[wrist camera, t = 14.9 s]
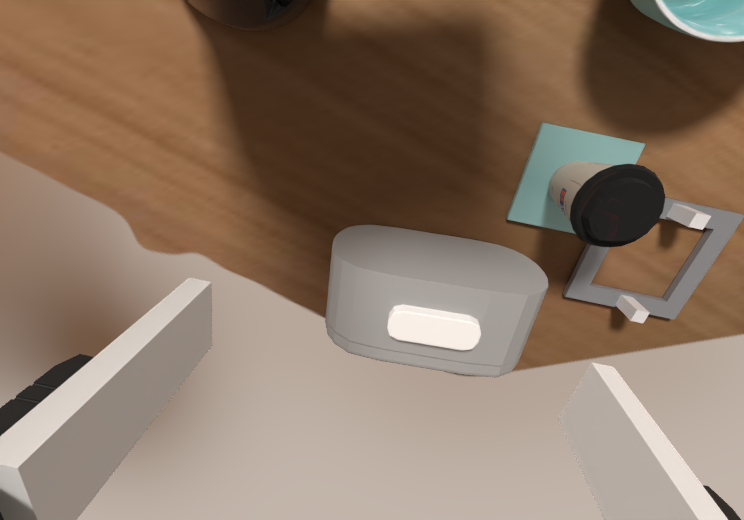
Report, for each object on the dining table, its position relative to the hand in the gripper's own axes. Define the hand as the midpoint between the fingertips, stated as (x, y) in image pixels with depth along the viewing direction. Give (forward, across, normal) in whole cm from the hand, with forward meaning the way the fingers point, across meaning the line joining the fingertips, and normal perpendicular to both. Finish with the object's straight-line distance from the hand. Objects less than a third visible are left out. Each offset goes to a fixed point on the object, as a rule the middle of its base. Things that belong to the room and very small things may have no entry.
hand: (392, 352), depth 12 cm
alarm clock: (+29, +5, -10) cm, 31 cm away
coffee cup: (+28, +17, +3) cm, 33 cm away
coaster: (+29, +17, +3) cm, 33 cm away
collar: (+29, +28, -3) cm, 40 cm away
